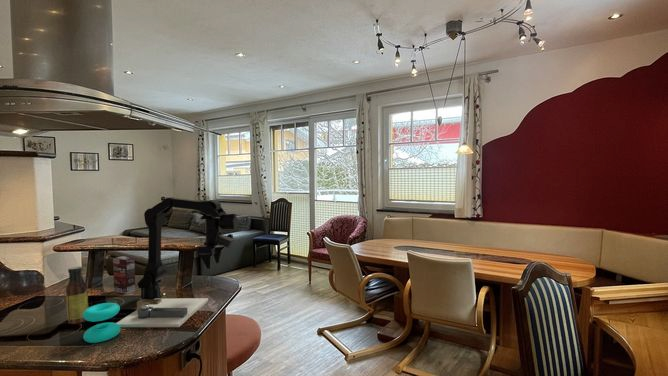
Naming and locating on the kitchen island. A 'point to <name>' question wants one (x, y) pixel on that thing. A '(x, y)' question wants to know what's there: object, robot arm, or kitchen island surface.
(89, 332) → the donuts
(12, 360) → the kitchen island surface
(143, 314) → the pivot link
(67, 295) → the sauce bottle
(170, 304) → the base board
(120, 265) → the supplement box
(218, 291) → the kitchen island surface
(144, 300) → the keeper
